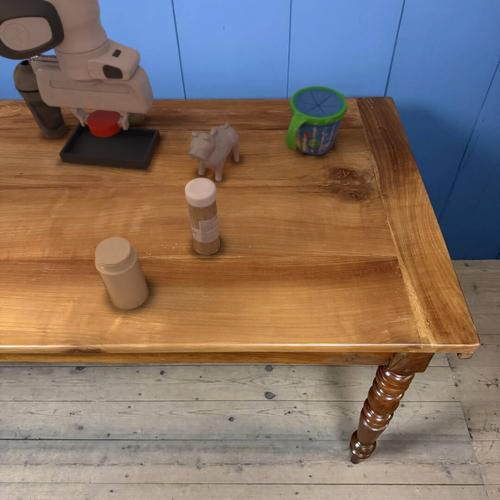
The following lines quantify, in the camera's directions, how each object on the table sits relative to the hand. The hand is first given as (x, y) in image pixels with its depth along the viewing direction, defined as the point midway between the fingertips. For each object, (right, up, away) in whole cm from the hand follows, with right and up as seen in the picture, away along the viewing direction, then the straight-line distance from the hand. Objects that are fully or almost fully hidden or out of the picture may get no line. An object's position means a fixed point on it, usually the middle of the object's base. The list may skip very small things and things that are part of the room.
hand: (106, 126), depth 88 cm
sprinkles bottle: (+20, -23, -11) cm, 33 cm away
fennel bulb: (+3, +3, +10) cm, 11 cm away
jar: (+9, -30, -17) cm, 36 cm away
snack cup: (+40, -3, +5) cm, 41 cm away
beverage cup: (-13, +1, +9) cm, 16 cm away
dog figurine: (+21, -8, +1) cm, 23 cm away
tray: (0, -3, +5) cm, 6 cm away
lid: (0, +1, -1) cm, 2 cm away
